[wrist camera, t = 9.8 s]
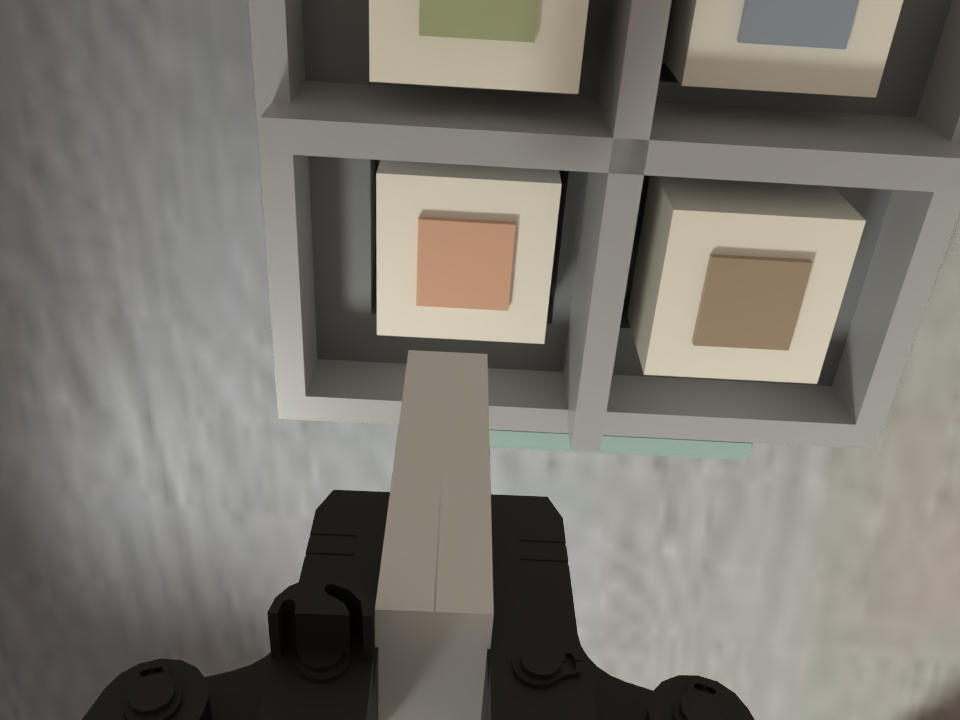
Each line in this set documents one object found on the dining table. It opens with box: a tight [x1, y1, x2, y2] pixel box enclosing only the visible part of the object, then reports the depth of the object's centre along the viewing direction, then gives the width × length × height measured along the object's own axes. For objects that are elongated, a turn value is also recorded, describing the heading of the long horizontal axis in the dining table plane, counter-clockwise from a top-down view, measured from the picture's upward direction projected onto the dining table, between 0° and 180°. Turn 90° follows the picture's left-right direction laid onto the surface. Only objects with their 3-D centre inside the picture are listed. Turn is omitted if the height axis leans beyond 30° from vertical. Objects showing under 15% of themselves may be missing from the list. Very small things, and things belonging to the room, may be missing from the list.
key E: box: [627, 176, 866, 384], centre depth 23 cm, size 4×4×3 cm
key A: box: [376, 160, 562, 344], centre depth 24 cm, size 4×4×3 cm
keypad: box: [248, 0, 960, 460], centre depth 22 cm, size 17×18×6 cm
